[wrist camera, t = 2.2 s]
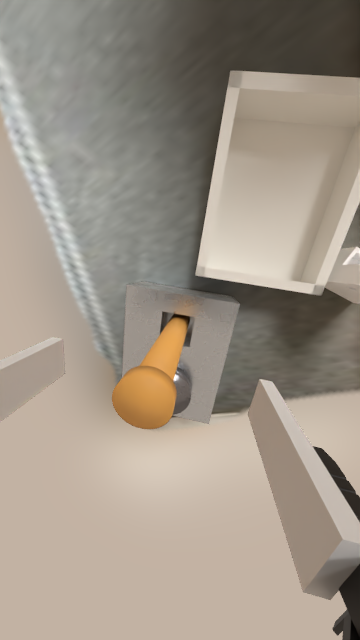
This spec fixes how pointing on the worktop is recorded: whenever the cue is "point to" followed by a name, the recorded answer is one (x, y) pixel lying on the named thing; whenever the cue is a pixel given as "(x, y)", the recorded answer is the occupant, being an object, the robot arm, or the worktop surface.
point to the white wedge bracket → (346, 275)
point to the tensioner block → (199, 346)
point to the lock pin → (153, 380)
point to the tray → (282, 180)
